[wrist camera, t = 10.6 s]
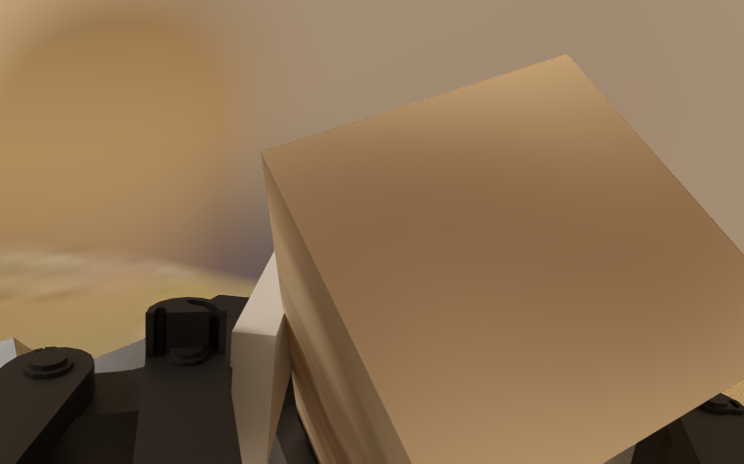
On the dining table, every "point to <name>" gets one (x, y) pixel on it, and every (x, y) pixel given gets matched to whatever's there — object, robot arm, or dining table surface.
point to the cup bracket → (290, 446)
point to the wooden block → (497, 280)
